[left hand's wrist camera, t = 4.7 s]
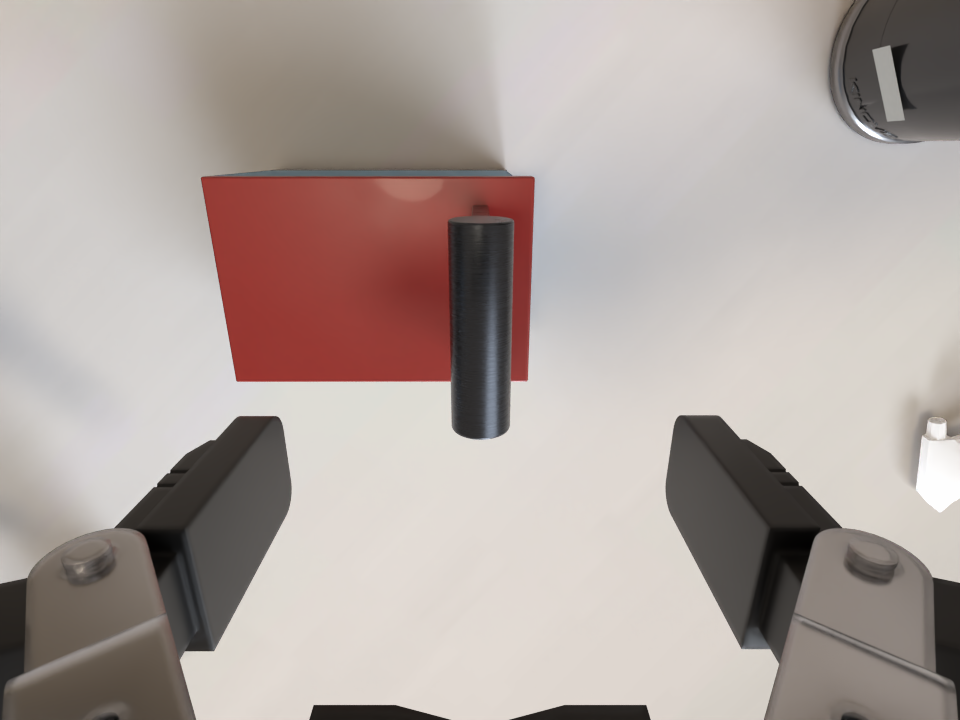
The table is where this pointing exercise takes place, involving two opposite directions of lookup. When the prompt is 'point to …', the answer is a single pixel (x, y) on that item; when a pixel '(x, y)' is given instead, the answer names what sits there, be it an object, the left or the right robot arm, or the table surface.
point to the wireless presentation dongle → (939, 465)
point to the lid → (379, 282)
